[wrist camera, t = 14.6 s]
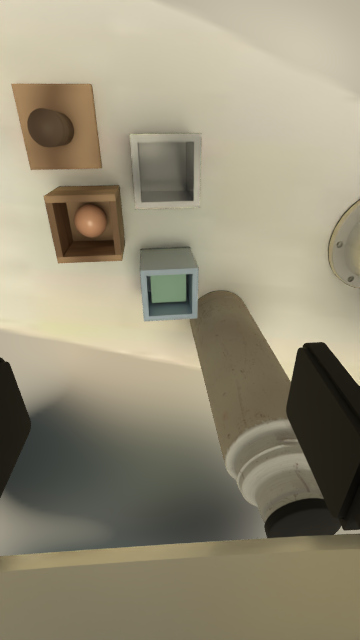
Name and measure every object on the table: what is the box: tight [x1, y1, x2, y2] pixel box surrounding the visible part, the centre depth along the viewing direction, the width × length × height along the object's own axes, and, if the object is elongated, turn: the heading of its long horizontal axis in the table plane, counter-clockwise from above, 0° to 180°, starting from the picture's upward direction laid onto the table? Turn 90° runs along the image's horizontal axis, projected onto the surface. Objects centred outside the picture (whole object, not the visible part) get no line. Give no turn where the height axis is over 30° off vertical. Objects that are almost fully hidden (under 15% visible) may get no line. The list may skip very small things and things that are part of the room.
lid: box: [12, 84, 102, 170], centre depth 29 cm, size 7×7×6 cm
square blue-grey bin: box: [140, 247, 198, 321], centre depth 37 cm, size 6×6×7 cm
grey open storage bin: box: [130, 133, 201, 209], centre depth 31 cm, size 6×6×7 cm
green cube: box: [150, 274, 186, 303], centre depth 38 cm, size 4×4×4 cm
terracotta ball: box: [74, 204, 107, 238], centre depth 34 cm, size 3×3×3 cm
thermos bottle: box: [190, 291, 341, 538], centre depth 32 cm, size 8×8×28 cm
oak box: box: [44, 185, 125, 263], centre depth 33 cm, size 6×6×6 cm
